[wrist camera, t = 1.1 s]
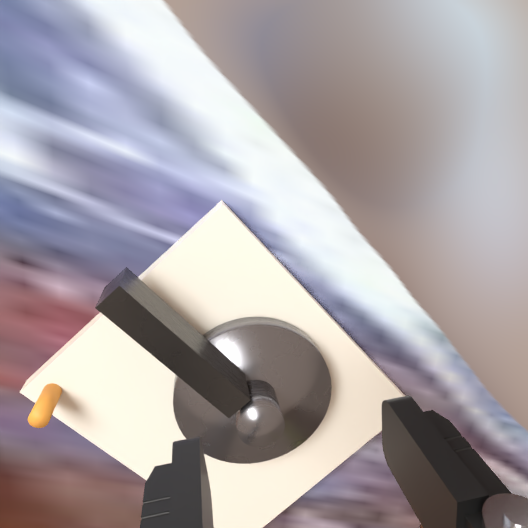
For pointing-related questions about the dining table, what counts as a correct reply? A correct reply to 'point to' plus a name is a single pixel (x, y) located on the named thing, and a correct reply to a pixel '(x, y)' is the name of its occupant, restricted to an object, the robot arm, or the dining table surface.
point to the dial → (228, 374)
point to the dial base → (162, 379)
